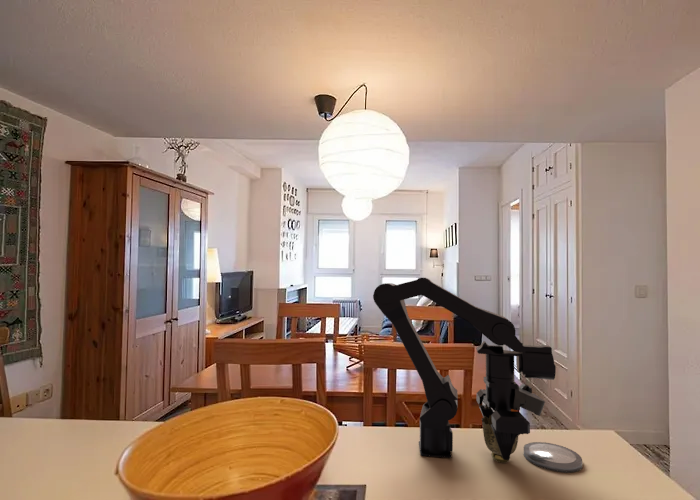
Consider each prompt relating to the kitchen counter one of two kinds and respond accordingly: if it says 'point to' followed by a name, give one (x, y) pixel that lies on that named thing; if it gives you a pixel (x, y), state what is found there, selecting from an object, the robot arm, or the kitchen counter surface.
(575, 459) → the gray-rimmed plate
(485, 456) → the kitchen counter surface
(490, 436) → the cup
